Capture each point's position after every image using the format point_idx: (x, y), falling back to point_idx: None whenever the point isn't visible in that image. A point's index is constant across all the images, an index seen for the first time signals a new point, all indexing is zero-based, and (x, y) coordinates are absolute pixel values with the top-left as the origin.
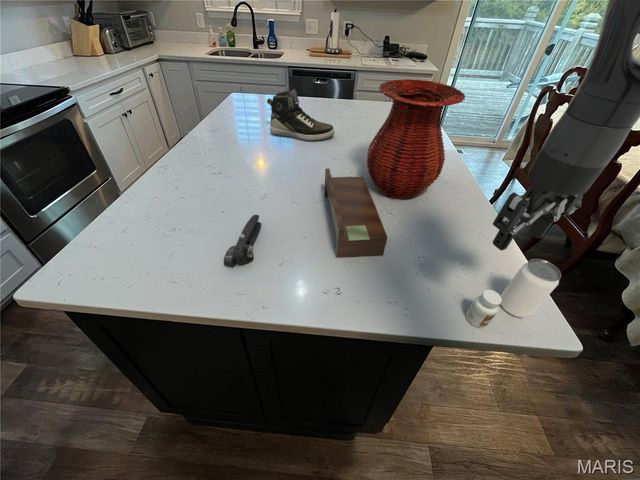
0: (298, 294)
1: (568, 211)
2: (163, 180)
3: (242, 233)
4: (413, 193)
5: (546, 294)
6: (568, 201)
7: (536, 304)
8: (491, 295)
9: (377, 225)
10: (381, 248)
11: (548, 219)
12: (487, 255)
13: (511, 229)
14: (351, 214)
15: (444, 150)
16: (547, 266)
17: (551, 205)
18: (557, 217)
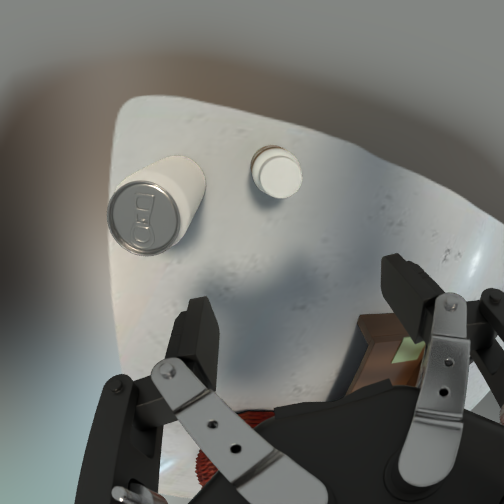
0: (479, 255)
1: (113, 396)
2: (482, 392)
3: (496, 336)
4: (250, 419)
5: (150, 166)
6: (129, 452)
7: (164, 160)
8: (281, 181)
9: (372, 365)
10: (371, 325)
11: (196, 371)
12: (166, 299)
13: (489, 306)
14: (393, 380)
15: (203, 480)
16: (125, 230)
17: (434, 460)
18: (170, 377)
